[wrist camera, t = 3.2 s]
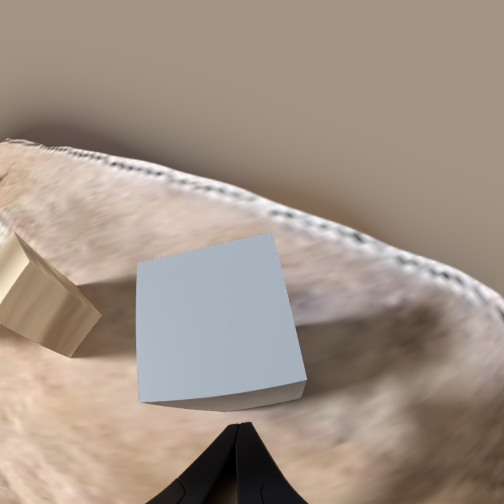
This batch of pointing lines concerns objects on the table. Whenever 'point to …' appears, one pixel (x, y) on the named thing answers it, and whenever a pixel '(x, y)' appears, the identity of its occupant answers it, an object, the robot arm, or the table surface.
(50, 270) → the birch post
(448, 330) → the table surface
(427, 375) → the table surface
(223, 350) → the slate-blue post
